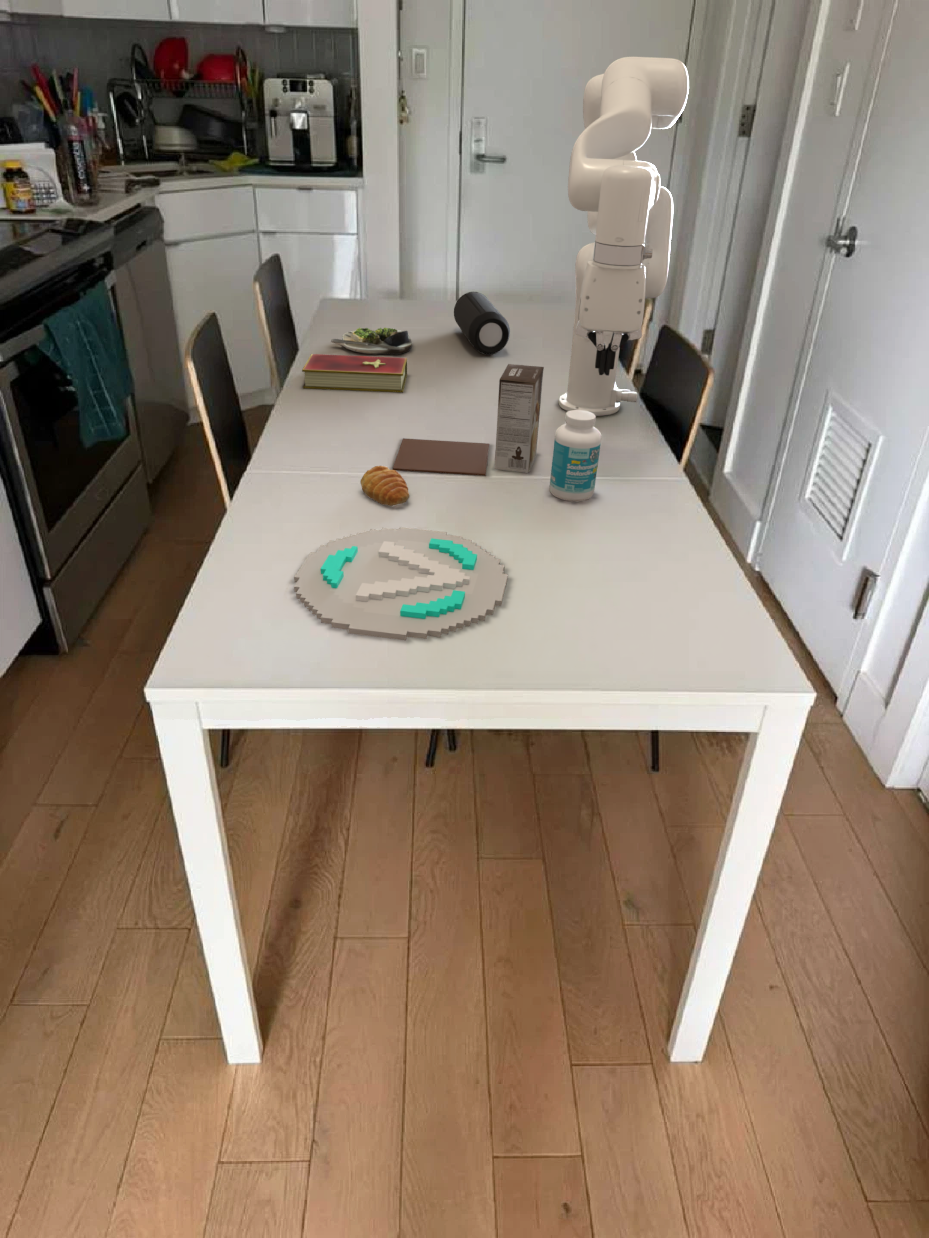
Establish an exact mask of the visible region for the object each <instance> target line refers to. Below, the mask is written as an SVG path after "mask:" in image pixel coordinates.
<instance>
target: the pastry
mask: <svg viewBox="0 0 929 1238" xmlns="http://www.w3.org/2000/svg"><path fill="white" fill-rule="evenodd" d="M360 486H361V490H362V492H363V494H365V495H366V496H367V497H368V498H369V499H372V500H373V501H374V502H377V504H380V505H382V506H389V507H394V506H397V505H402V504H405V503H407V502H408V500H409V498H410V493H409V487H408V485H407V482H406V480H405V478H404V477H403V476H402V475H401V474H400V473H399V471H397V470H392V469H390V468H389V467H388V466H386V465H376V466H375V465H374V466H373V467H371V468H370V469H367V470H366V471H365V472H364V474H363V475H362V476H361V479H360Z"/></svg>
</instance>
